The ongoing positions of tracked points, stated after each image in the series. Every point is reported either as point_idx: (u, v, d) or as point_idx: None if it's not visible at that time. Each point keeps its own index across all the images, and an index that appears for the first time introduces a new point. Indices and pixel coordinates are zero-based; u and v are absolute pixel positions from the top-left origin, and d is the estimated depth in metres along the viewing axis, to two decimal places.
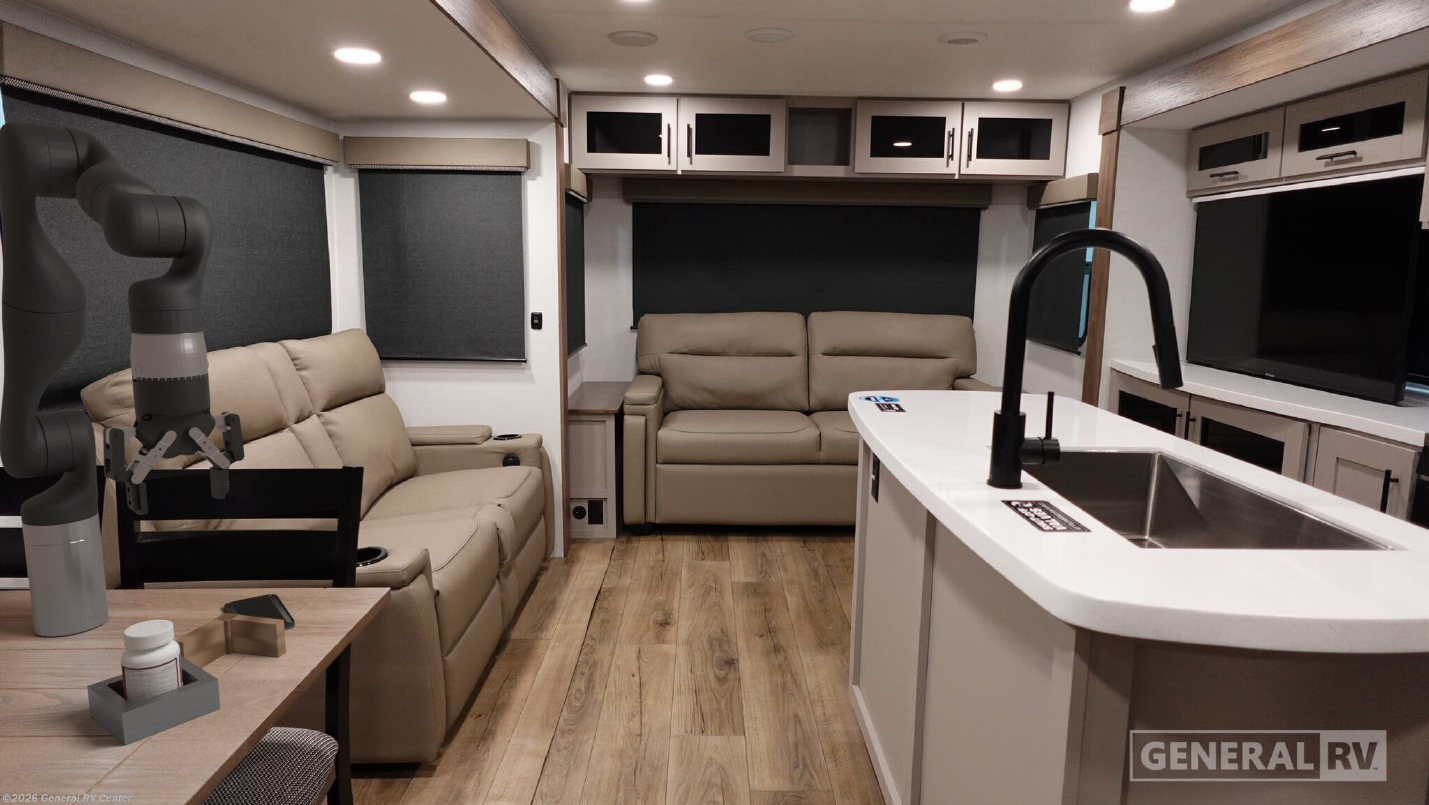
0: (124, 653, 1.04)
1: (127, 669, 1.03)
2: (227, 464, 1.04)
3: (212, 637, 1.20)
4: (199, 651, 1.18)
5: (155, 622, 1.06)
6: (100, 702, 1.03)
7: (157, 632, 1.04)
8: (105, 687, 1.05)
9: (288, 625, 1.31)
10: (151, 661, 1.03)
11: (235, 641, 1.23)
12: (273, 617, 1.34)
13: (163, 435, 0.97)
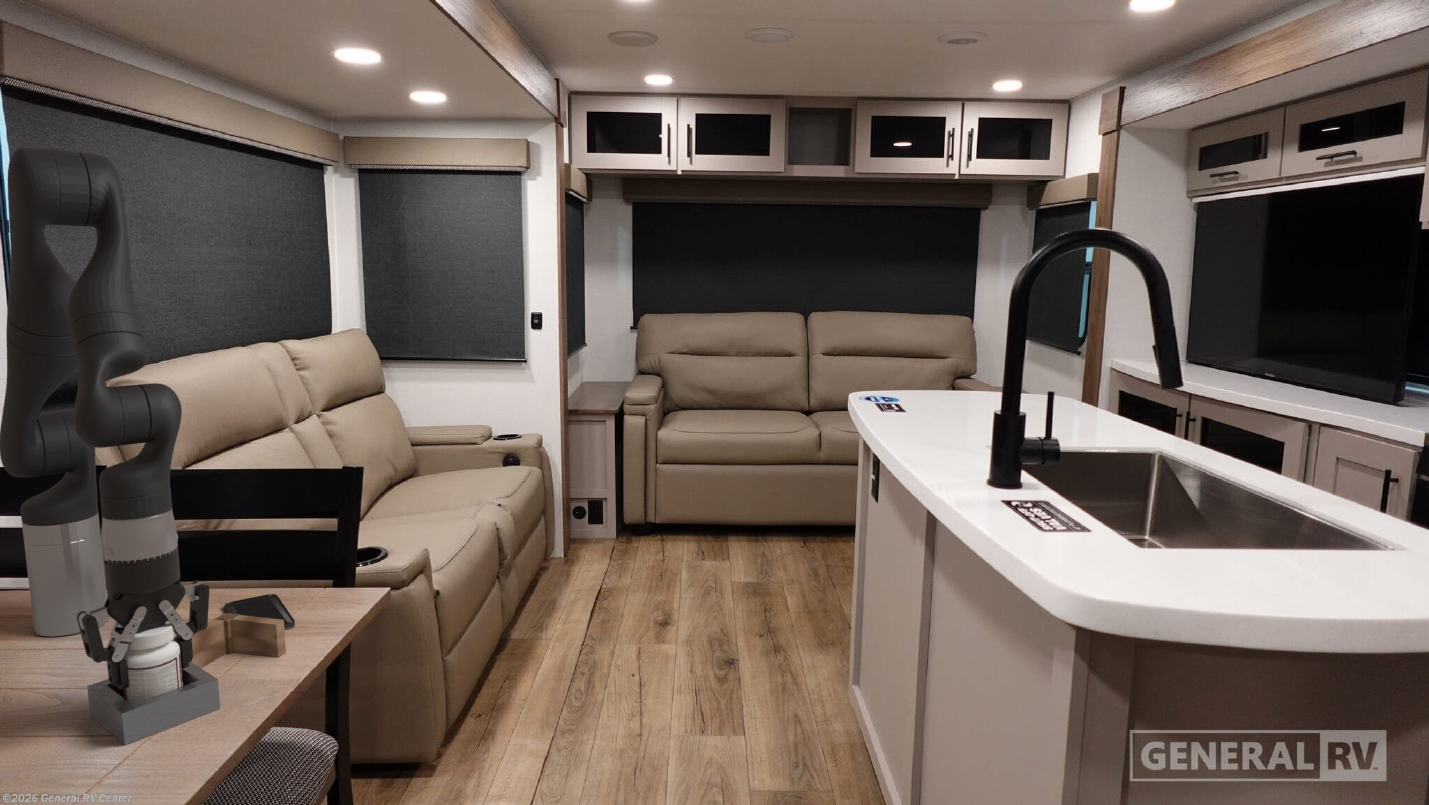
0: None
1: (127, 668, 1.03)
2: (190, 635, 1.08)
3: (212, 637, 1.20)
4: (199, 651, 1.18)
5: None
6: (100, 702, 1.03)
7: (157, 632, 1.04)
8: (105, 687, 1.05)
9: (288, 625, 1.31)
10: (151, 661, 1.03)
11: (235, 641, 1.23)
12: (273, 617, 1.34)
13: (133, 613, 1.02)
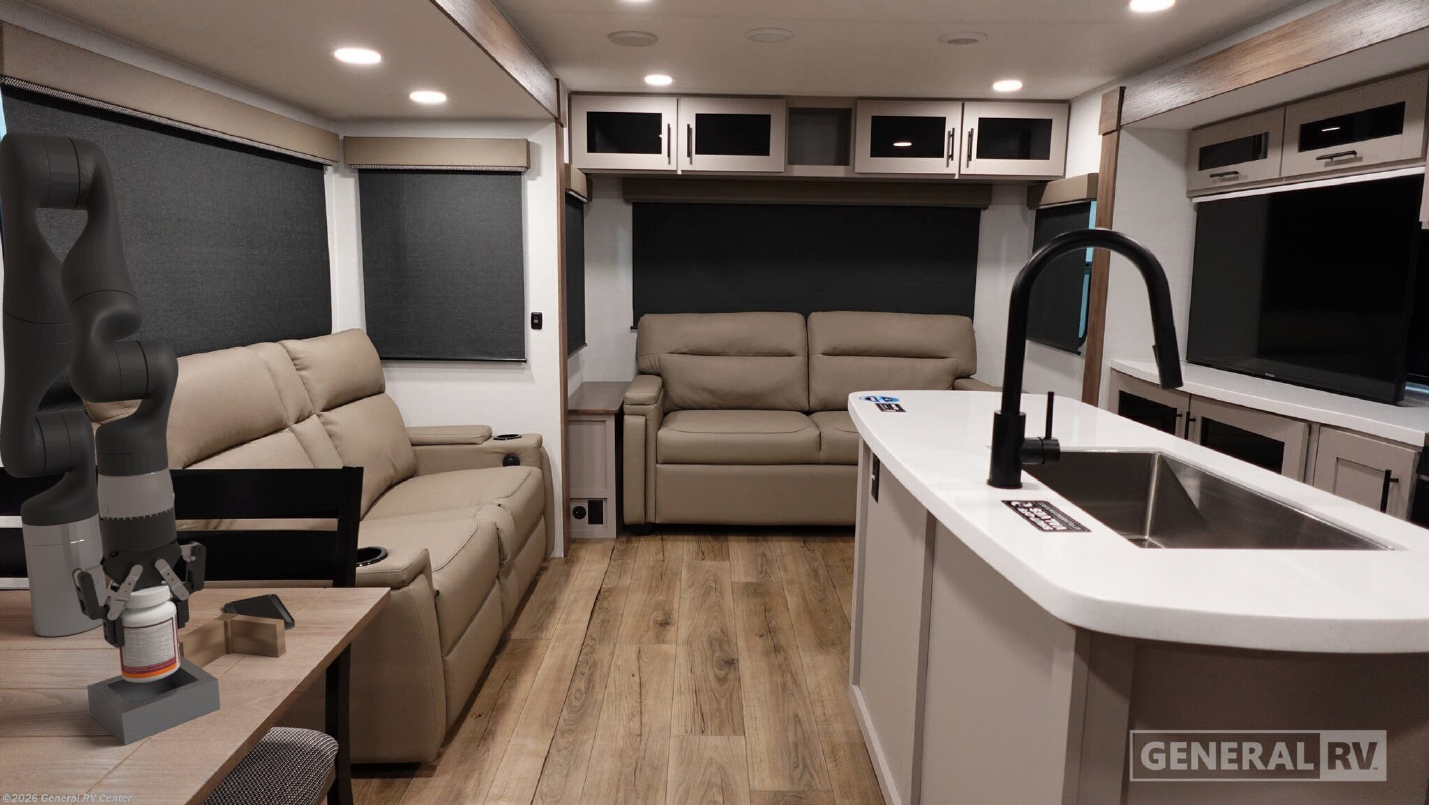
0: (120, 612, 1.03)
1: (122, 627, 1.02)
2: (186, 595, 1.07)
3: (212, 637, 1.20)
4: (199, 651, 1.18)
5: None
6: (100, 702, 1.03)
7: (153, 591, 1.03)
8: (105, 687, 1.05)
9: (288, 625, 1.31)
10: (147, 619, 1.02)
11: (235, 641, 1.23)
12: (273, 617, 1.34)
13: (129, 571, 1.01)
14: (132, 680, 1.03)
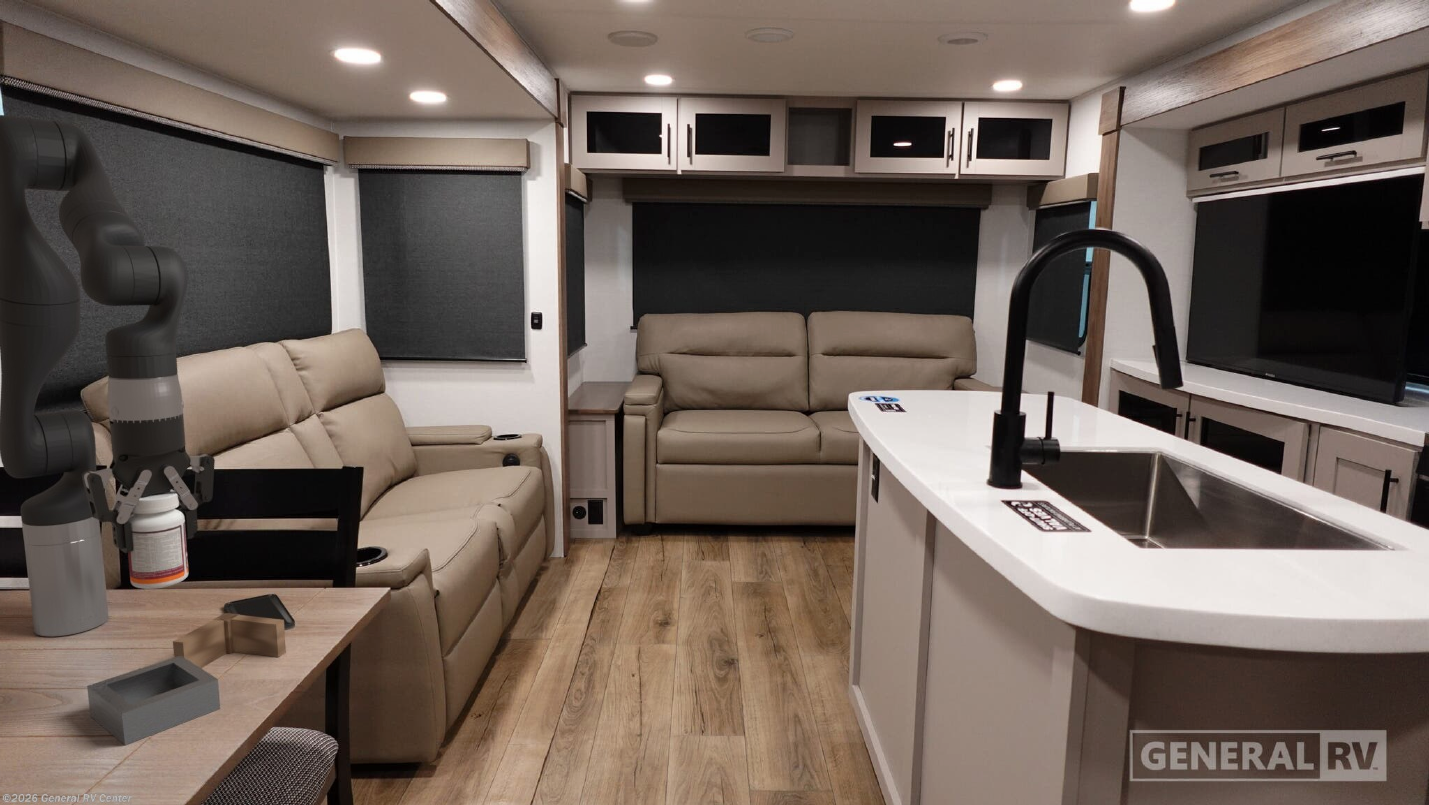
0: (129, 518, 1.04)
1: (131, 532, 1.03)
2: (195, 505, 1.08)
3: (212, 637, 1.20)
4: (199, 651, 1.18)
5: None
6: (100, 702, 1.03)
7: (162, 497, 1.04)
8: (105, 687, 1.05)
9: (288, 625, 1.31)
10: (155, 525, 1.03)
11: (235, 641, 1.23)
12: (273, 617, 1.34)
13: (138, 475, 1.02)
14: (141, 586, 1.04)
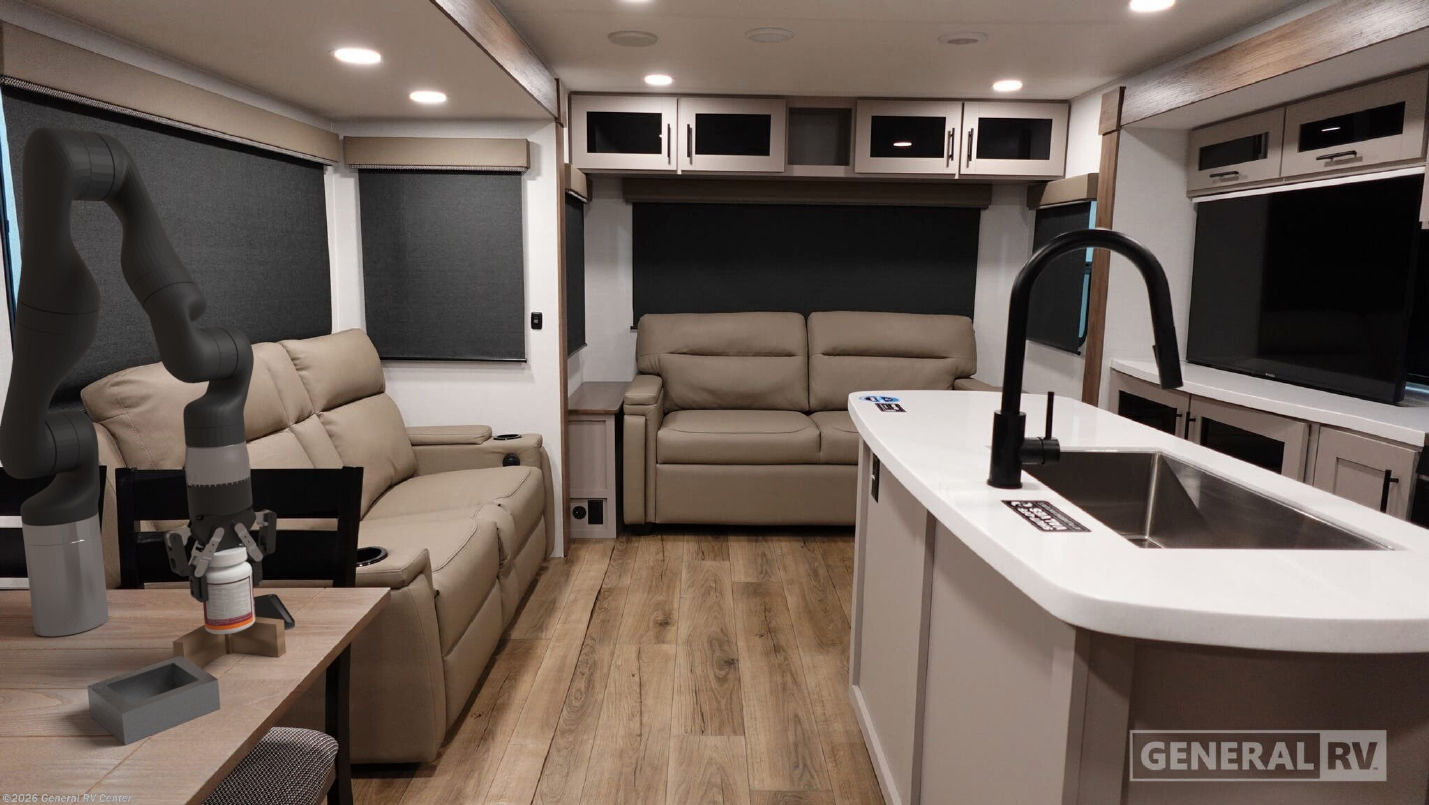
0: None
1: (207, 584, 1.14)
2: (260, 557, 1.19)
3: (212, 637, 1.20)
4: (199, 651, 1.18)
5: None
6: (100, 702, 1.03)
7: (233, 551, 1.15)
8: (105, 687, 1.05)
9: (288, 625, 1.31)
10: (228, 577, 1.14)
11: (235, 641, 1.23)
12: (273, 617, 1.34)
13: (213, 533, 1.13)
14: (215, 632, 1.15)
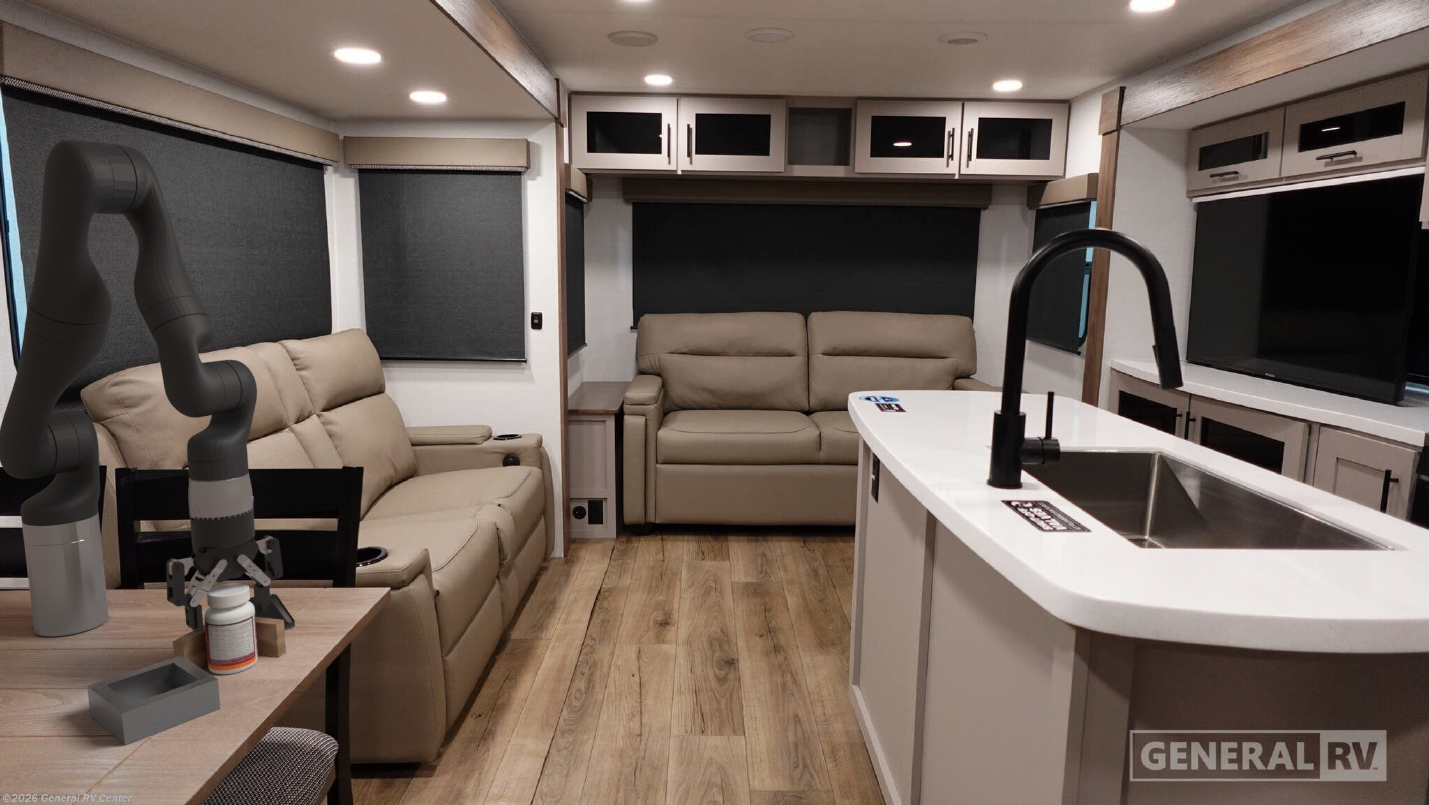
0: (207, 611, 1.16)
1: (210, 625, 1.15)
2: (268, 582, 1.21)
3: None
4: (199, 651, 1.18)
5: (233, 585, 1.19)
6: (100, 702, 1.03)
7: (236, 593, 1.16)
8: (105, 687, 1.05)
9: (288, 625, 1.31)
10: (231, 618, 1.16)
11: None
12: (273, 617, 1.34)
13: (216, 564, 1.14)
14: (218, 672, 1.16)
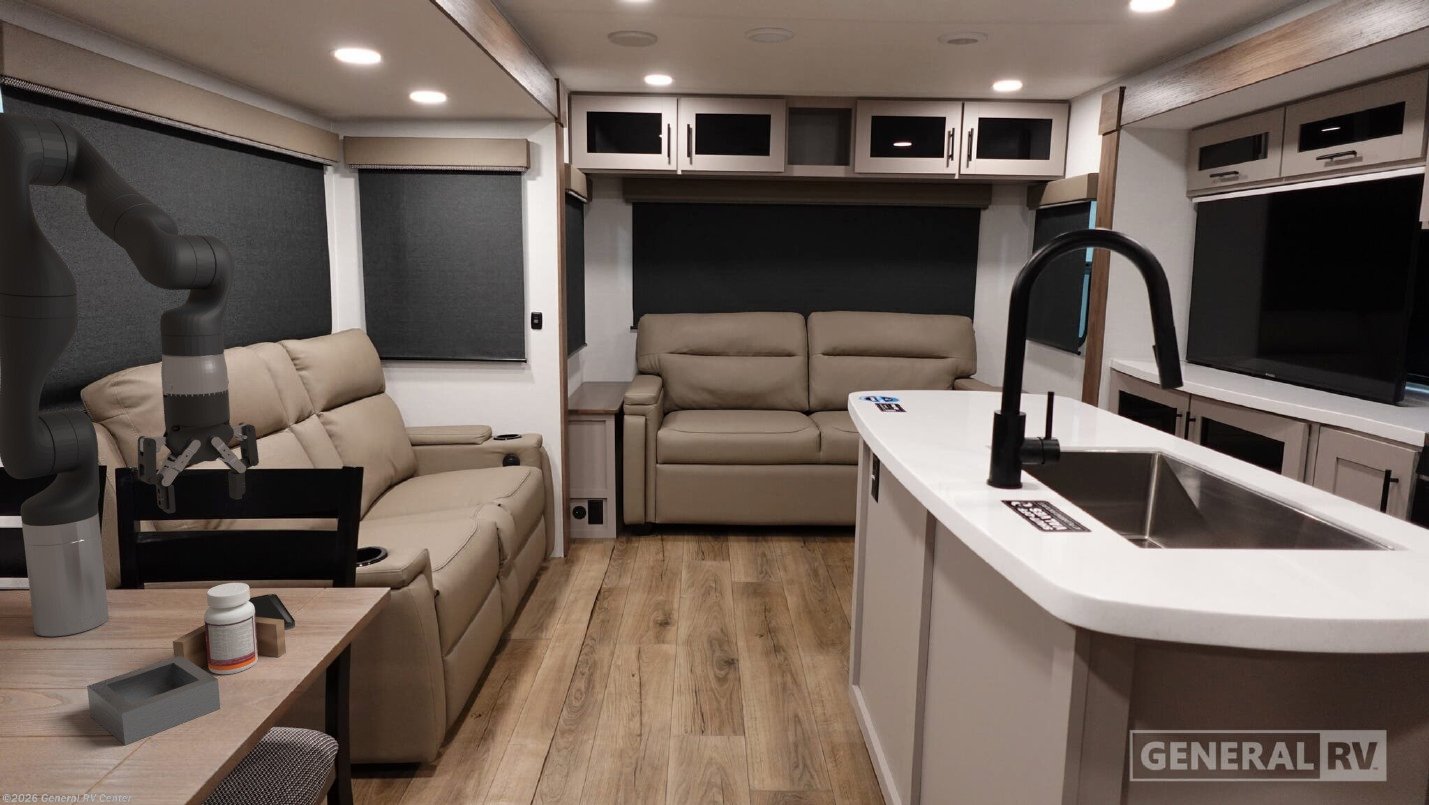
0: (207, 611, 1.16)
1: (210, 625, 1.15)
2: (244, 469, 1.18)
3: None
4: (199, 651, 1.18)
5: (233, 585, 1.19)
6: (100, 702, 1.03)
7: (236, 593, 1.16)
8: (105, 687, 1.05)
9: (288, 625, 1.31)
10: (231, 618, 1.16)
11: None
12: (273, 617, 1.34)
13: (189, 444, 1.12)
14: (218, 672, 1.16)
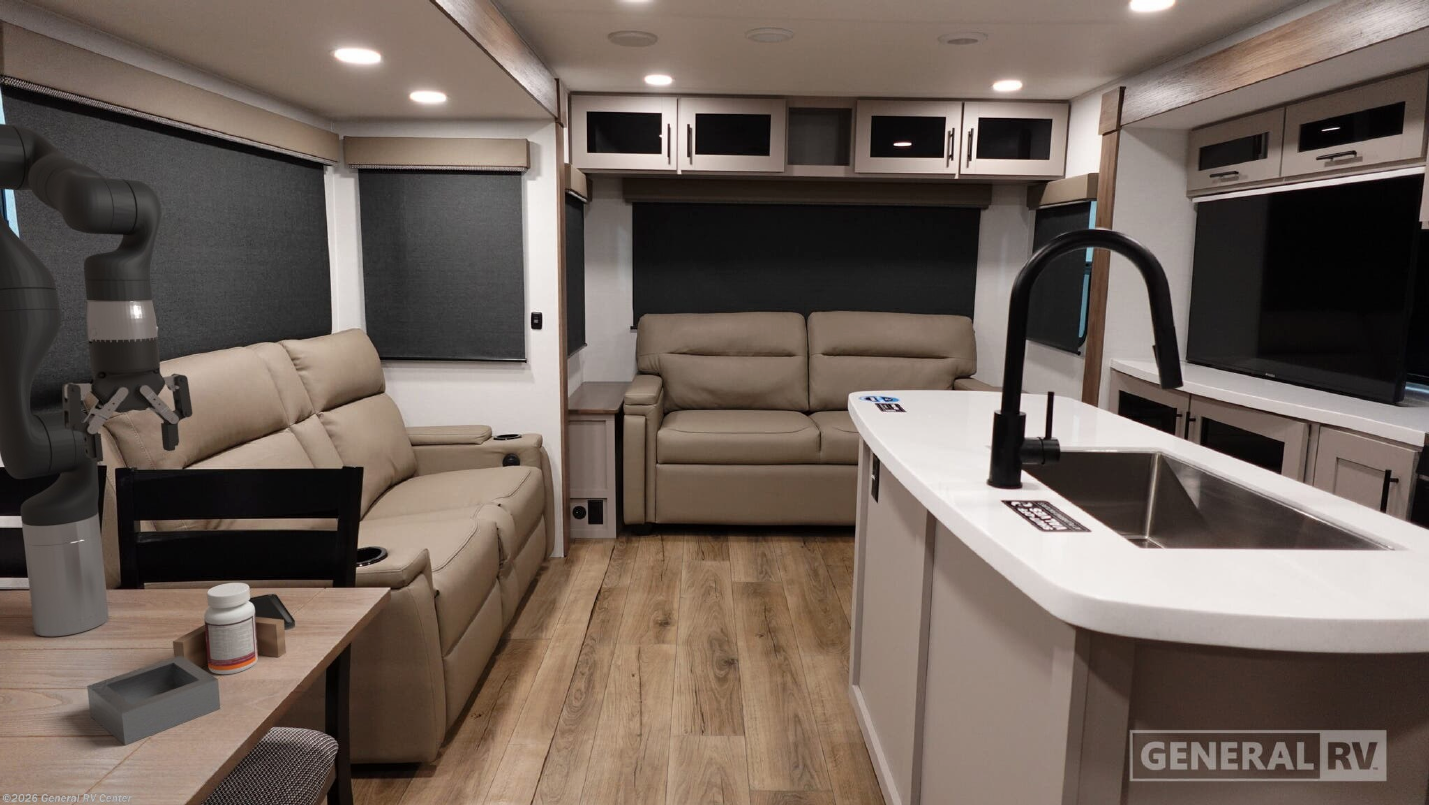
0: (207, 611, 1.16)
1: (210, 625, 1.15)
2: (176, 420, 1.17)
3: None
4: (199, 651, 1.18)
5: (233, 585, 1.19)
6: (100, 702, 1.03)
7: (237, 592, 1.16)
8: (105, 687, 1.05)
9: (288, 625, 1.31)
10: (231, 618, 1.16)
11: None
12: (273, 617, 1.34)
13: (116, 391, 1.10)
14: (218, 672, 1.16)
